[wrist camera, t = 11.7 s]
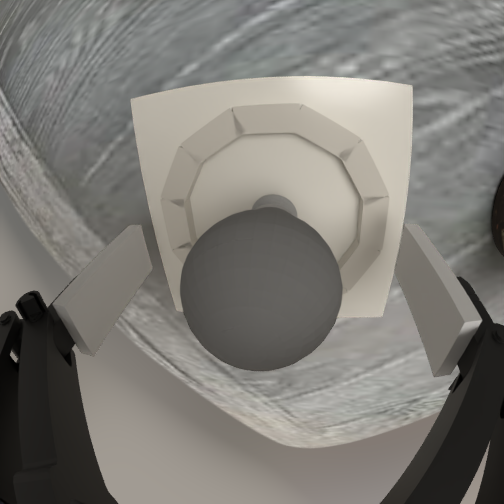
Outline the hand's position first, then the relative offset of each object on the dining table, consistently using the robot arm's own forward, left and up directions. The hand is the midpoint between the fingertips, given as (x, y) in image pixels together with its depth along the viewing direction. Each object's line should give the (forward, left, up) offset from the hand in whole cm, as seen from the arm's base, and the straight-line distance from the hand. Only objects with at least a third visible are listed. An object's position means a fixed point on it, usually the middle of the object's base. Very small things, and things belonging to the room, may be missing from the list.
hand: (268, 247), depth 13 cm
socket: (0, 0, -4) cm, 4 cm away
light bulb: (0, 0, -4) cm, 4 cm away
